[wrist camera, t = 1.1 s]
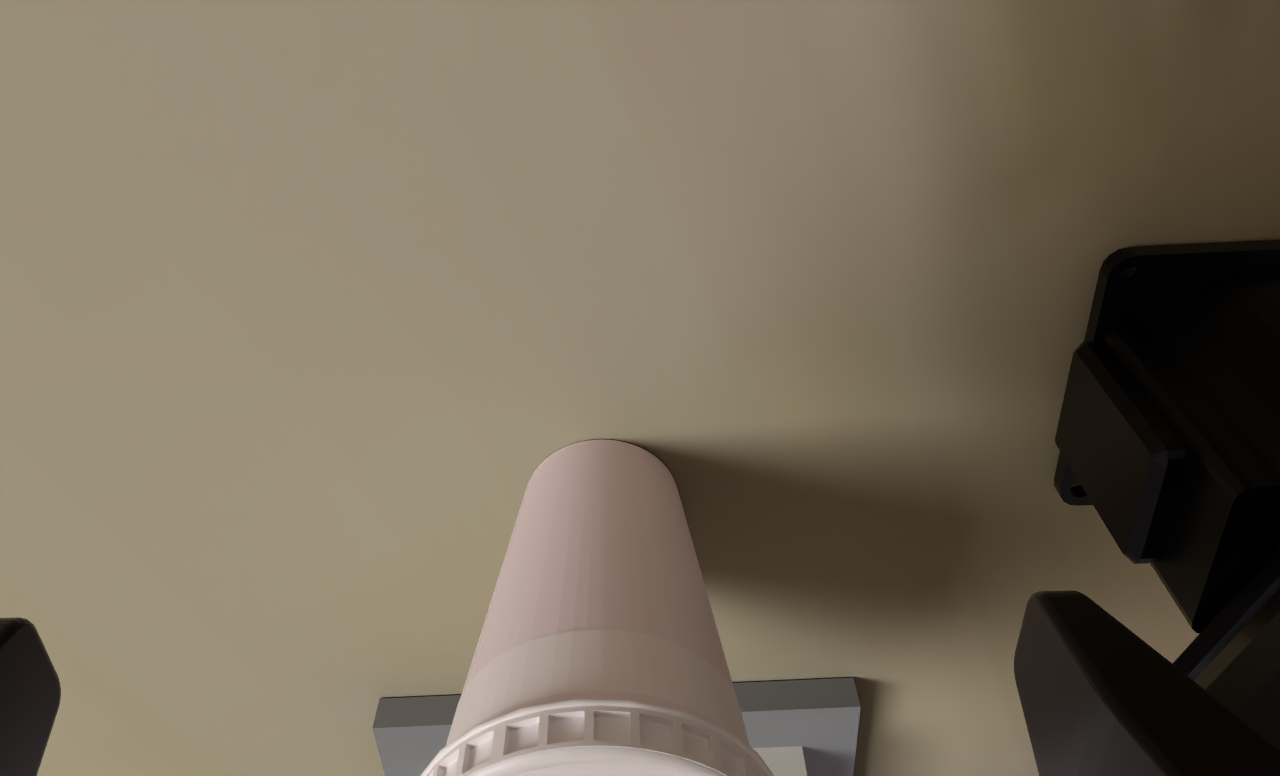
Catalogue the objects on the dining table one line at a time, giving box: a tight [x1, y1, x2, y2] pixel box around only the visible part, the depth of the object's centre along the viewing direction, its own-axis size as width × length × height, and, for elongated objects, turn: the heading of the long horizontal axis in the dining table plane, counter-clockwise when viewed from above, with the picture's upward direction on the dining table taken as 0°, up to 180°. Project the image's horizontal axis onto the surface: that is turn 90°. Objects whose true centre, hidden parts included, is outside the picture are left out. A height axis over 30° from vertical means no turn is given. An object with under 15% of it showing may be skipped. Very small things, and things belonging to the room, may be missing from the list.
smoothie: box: [420, 440, 774, 776], centre depth 19 cm, size 6×6×14 cm
